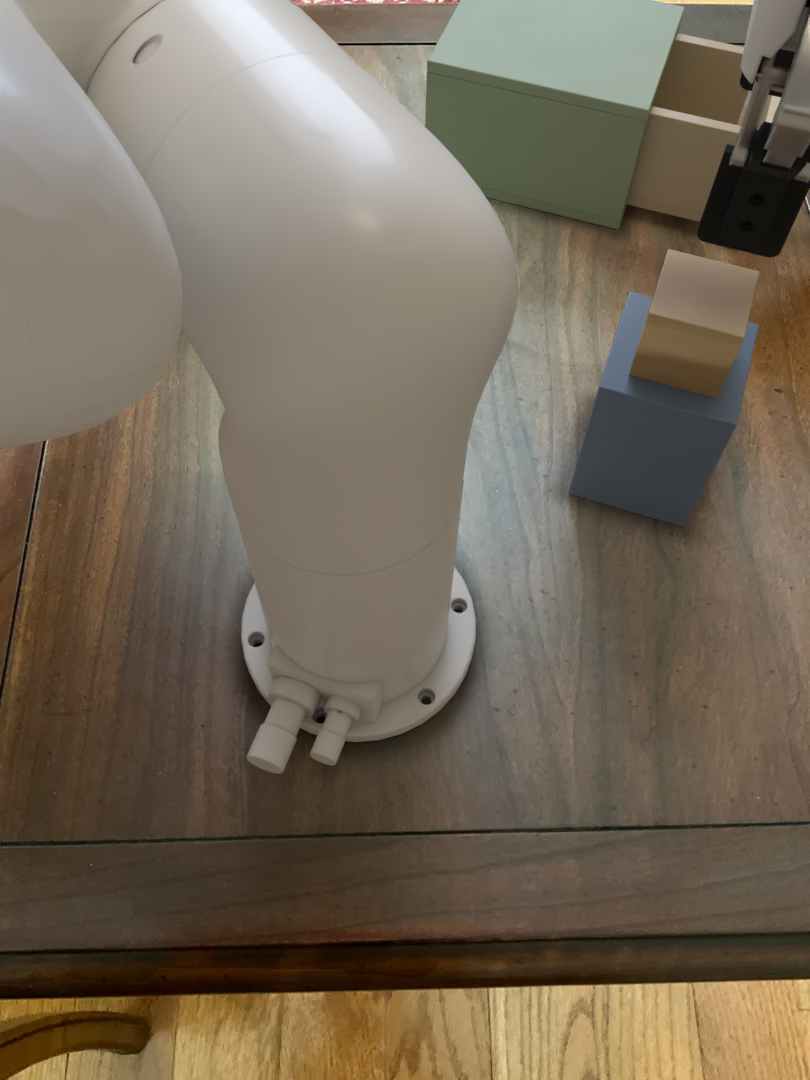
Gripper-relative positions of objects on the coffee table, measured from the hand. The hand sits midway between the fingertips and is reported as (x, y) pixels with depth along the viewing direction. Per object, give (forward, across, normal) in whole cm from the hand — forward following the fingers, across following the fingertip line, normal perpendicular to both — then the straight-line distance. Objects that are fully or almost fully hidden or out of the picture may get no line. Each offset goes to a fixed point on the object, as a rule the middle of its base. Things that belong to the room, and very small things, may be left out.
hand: (757, 164), depth 40 cm
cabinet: (+22, +25, +13) cm, 36 cm away
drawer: (+21, +25, +1) cm, 32 cm away
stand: (+22, 0, 0) cm, 22 cm away
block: (+12, 0, 0) cm, 12 cm away
